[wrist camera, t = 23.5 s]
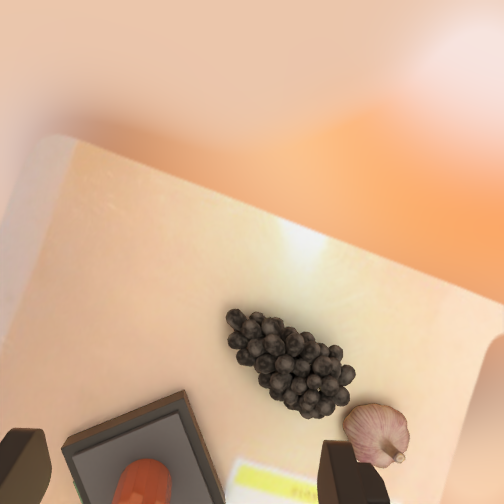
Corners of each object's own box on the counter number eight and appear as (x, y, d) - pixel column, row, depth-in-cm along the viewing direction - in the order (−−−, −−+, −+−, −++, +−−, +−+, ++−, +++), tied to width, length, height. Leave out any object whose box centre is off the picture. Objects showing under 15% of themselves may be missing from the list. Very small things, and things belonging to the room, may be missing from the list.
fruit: (217, 341, 35) (342, 443, 36) (268, 272, 38) (381, 368, 40) (197, 344, 43) (300, 428, 44) (241, 286, 46) (336, 366, 47)
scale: (108, 547, 43) (102, 571, 40) (64, 438, 42) (54, 454, 39) (224, 494, 44) (227, 513, 41) (184, 389, 44) (183, 400, 40)
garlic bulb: (328, 417, 46) (355, 452, 38) (378, 381, 47) (415, 408, 39) (360, 468, 47) (394, 514, 39) (409, 432, 48) (452, 469, 40)
